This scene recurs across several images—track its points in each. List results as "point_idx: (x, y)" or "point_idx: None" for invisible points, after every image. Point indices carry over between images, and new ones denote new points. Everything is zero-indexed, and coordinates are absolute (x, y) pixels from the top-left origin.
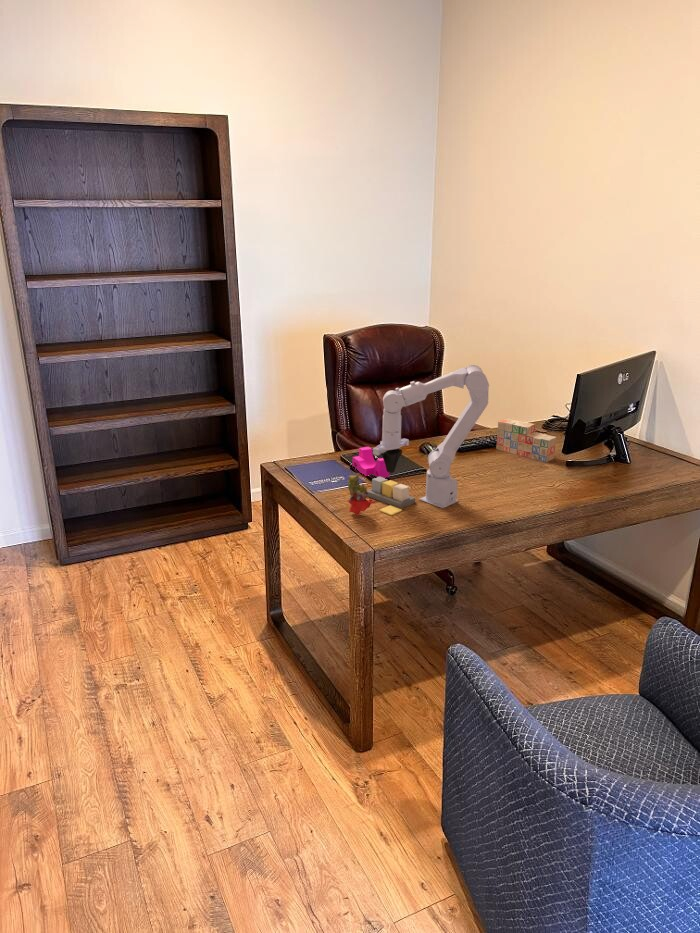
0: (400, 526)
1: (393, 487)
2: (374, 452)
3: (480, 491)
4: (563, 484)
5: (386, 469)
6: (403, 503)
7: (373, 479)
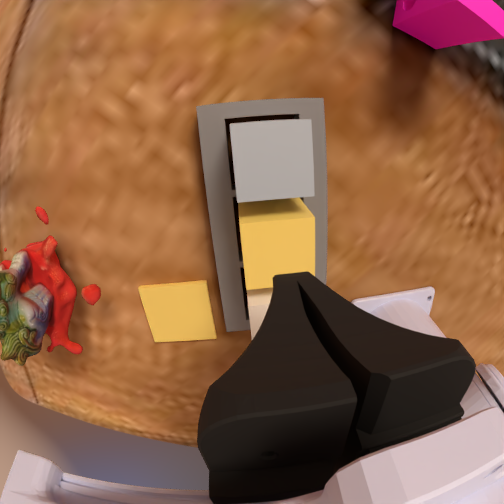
0: (139, 392)
1: (248, 304)
2: (24, 484)
3: (489, 338)
4: None
5: (274, 282)
6: (245, 327)
7: (232, 136)
